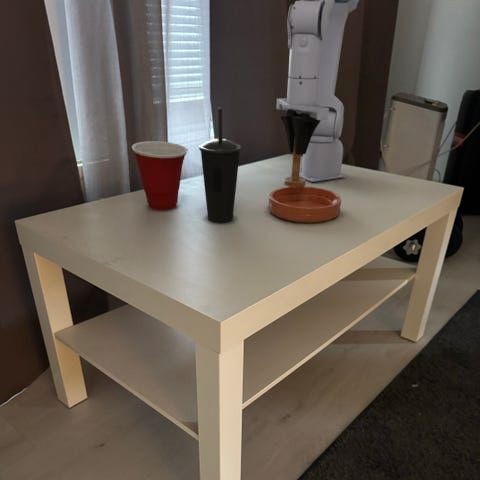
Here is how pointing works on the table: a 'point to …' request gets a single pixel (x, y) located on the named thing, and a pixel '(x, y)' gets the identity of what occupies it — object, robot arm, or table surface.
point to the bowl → (304, 204)
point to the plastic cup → (160, 172)
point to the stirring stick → (295, 172)
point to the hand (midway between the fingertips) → (297, 152)
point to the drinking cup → (220, 175)
